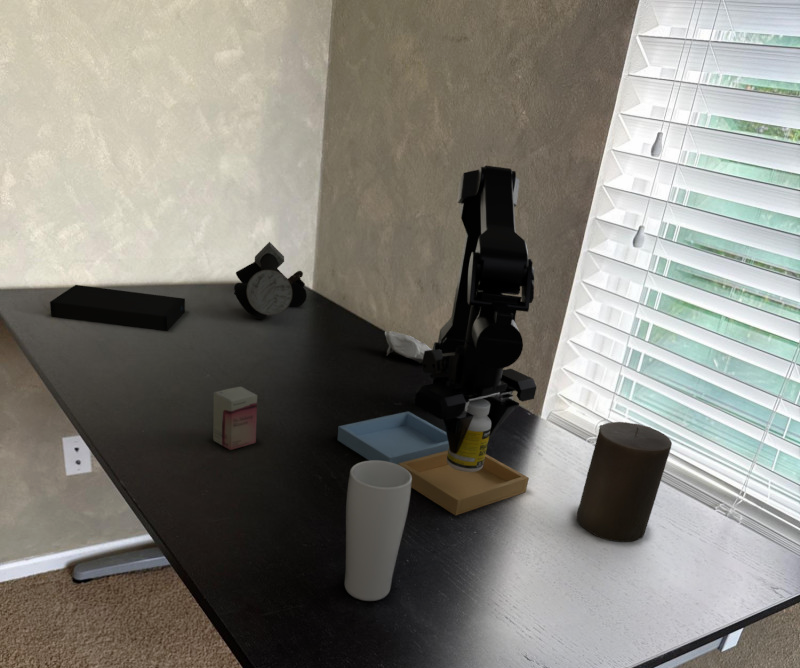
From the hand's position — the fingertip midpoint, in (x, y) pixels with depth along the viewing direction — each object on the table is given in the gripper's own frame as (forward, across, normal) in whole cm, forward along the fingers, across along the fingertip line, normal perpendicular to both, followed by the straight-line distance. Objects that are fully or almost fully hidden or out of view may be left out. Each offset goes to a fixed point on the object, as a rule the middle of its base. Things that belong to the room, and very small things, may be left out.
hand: (467, 448), depth 117 cm
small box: (+6, +22, -27) cm, 35 cm away
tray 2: (+6, 0, 0) cm, 6 cm away
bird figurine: (+6, -30, -46) cm, 55 cm away
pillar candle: (+6, -11, +19) cm, 23 cm away
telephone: (+6, -22, -86) cm, 89 cm away
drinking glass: (+6, +29, +14) cm, 33 cm away
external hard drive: (+6, +11, -91) cm, 92 cm away
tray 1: (+6, 0, -14) cm, 16 cm away
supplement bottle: (+3, 0, 0) cm, 3 cm away
